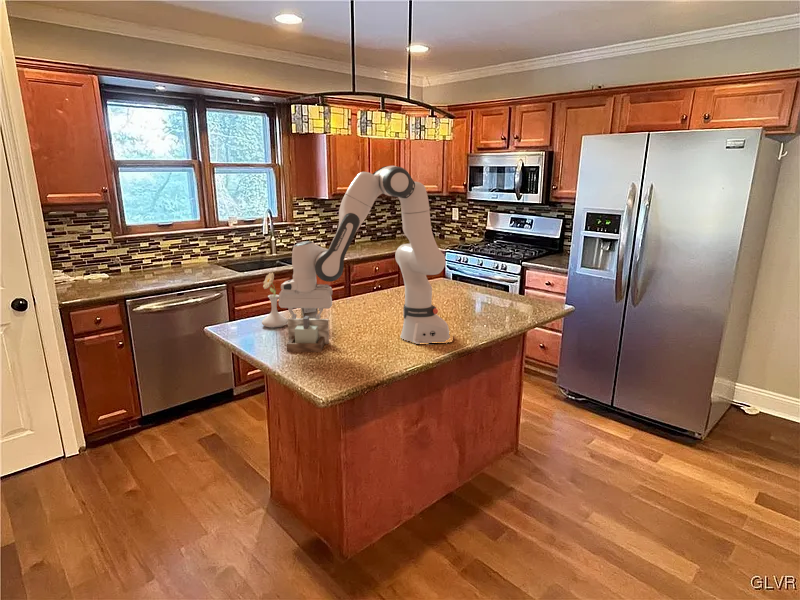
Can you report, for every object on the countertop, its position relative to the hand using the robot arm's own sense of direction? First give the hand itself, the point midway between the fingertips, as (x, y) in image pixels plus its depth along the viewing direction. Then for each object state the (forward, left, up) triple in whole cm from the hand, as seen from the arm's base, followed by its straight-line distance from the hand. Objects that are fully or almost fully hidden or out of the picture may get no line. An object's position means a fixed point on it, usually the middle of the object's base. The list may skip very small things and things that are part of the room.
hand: (306, 318), depth 184 cm
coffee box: (+4, -27, -12) cm, 29 cm away
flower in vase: (+19, -25, -12) cm, 33 cm away
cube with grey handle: (0, 0, -11) cm, 11 cm away
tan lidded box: (0, +1, -11) cm, 11 cm away
